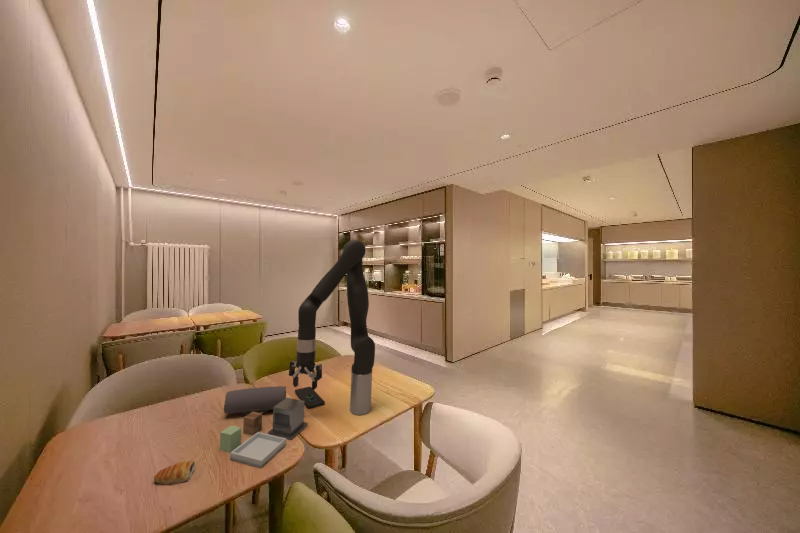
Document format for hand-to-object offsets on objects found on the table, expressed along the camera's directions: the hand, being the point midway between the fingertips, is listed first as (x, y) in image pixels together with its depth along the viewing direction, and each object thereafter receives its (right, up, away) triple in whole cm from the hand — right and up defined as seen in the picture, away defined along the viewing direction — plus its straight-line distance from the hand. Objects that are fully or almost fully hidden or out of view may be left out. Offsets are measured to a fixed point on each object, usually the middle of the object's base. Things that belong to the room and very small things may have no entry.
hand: (304, 387), depth 119 cm
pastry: (-26, -12, -35) cm, 45 cm away
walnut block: (-16, -12, -11) cm, 23 cm away
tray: (-8, -12, -23) cm, 27 cm away
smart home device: (-3, -13, +16) cm, 21 cm away
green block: (-19, -12, -21) cm, 30 cm away
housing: (-3, -12, -10) cm, 16 cm away
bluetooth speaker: (-22, -12, +3) cm, 25 cm away
